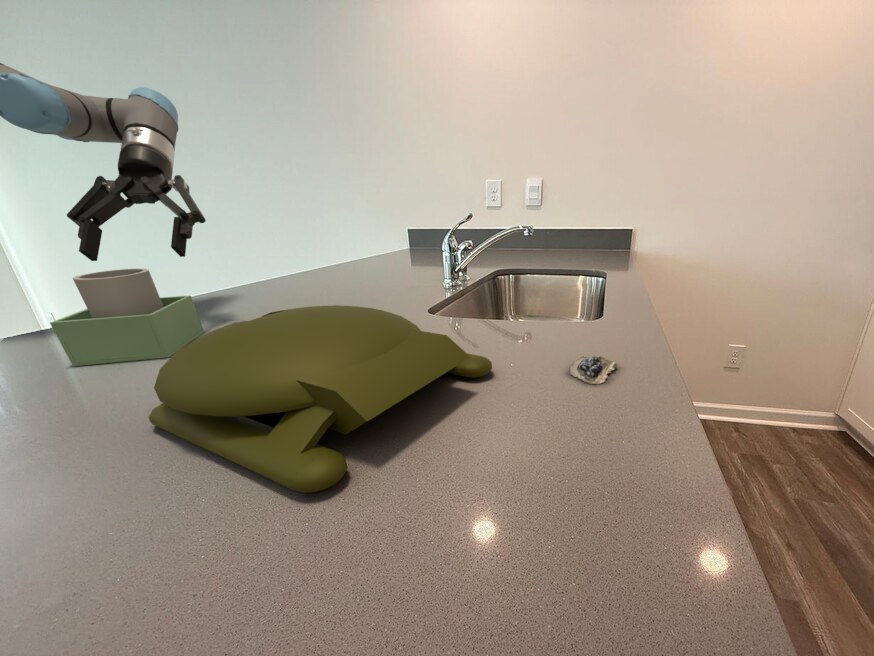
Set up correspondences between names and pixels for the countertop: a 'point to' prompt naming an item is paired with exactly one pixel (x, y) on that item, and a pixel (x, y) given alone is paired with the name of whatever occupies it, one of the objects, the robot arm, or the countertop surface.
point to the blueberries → (592, 369)
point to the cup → (119, 293)
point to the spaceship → (299, 385)
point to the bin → (129, 334)
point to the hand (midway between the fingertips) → (133, 254)
